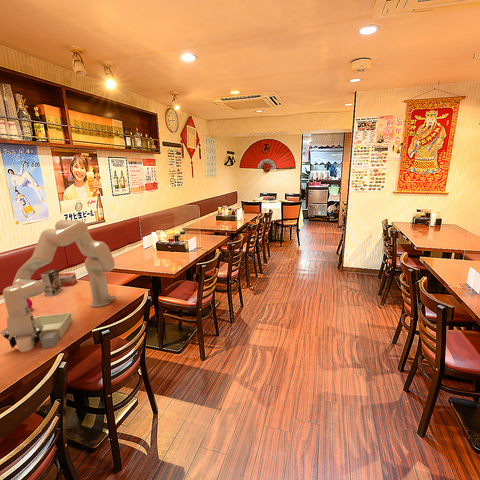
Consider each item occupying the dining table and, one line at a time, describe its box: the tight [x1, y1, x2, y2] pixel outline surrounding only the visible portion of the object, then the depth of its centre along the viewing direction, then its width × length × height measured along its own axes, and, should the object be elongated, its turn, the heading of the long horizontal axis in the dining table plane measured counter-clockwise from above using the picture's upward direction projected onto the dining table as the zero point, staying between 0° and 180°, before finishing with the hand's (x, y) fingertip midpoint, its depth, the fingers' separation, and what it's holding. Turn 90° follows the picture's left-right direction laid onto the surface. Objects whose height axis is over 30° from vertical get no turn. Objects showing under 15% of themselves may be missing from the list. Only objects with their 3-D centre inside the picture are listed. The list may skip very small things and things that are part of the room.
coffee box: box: [40, 268, 63, 297], centre depth 194 cm, size 9×6×16 cm
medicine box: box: [59, 272, 78, 288], centre depth 209 cm, size 15×8×8 cm, turn 101°
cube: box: [40, 332, 59, 349], centre depth 137 cm, size 5×5×5 cm
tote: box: [33, 311, 73, 342], centre depth 148 cm, size 17×17×6 cm
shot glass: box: [14, 334, 35, 353], centre depth 134 cm, size 7×7×7 cm
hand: (25, 344), depth 134 cm, fingers open, 9 cm apart
